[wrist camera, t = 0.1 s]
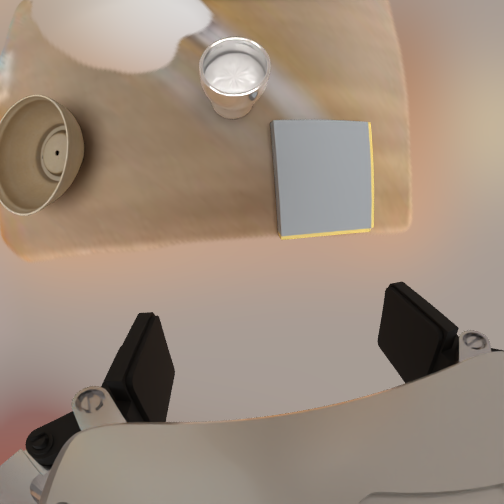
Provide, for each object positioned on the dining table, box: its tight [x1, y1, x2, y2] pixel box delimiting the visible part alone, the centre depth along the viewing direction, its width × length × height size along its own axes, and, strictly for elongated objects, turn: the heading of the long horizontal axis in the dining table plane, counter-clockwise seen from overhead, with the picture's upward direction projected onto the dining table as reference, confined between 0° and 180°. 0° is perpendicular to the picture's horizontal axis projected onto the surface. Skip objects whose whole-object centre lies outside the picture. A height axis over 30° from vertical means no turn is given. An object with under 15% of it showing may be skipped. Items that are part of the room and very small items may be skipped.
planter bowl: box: [0, 95, 84, 216], centre depth 29 cm, size 16×16×11 cm
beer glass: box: [199, 37, 271, 119], centre depth 28 cm, size 7×7×15 cm
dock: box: [270, 120, 374, 240], centre depth 38 cm, size 17×15×3 cm
